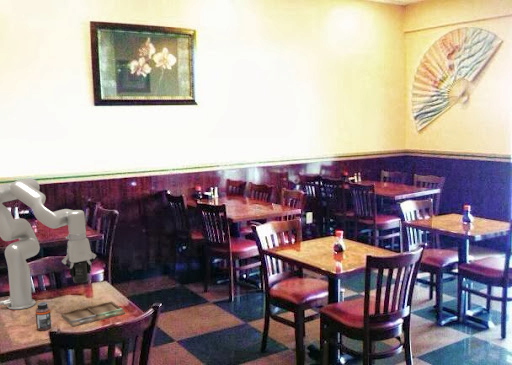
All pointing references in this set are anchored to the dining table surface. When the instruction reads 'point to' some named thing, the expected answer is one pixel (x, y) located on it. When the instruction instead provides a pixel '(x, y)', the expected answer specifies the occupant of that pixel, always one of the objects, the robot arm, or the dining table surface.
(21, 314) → the dining table surface
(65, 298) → the dining table surface
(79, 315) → the socket board
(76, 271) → the supplement bottle
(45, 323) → the supplement bottle
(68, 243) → the robot arm
